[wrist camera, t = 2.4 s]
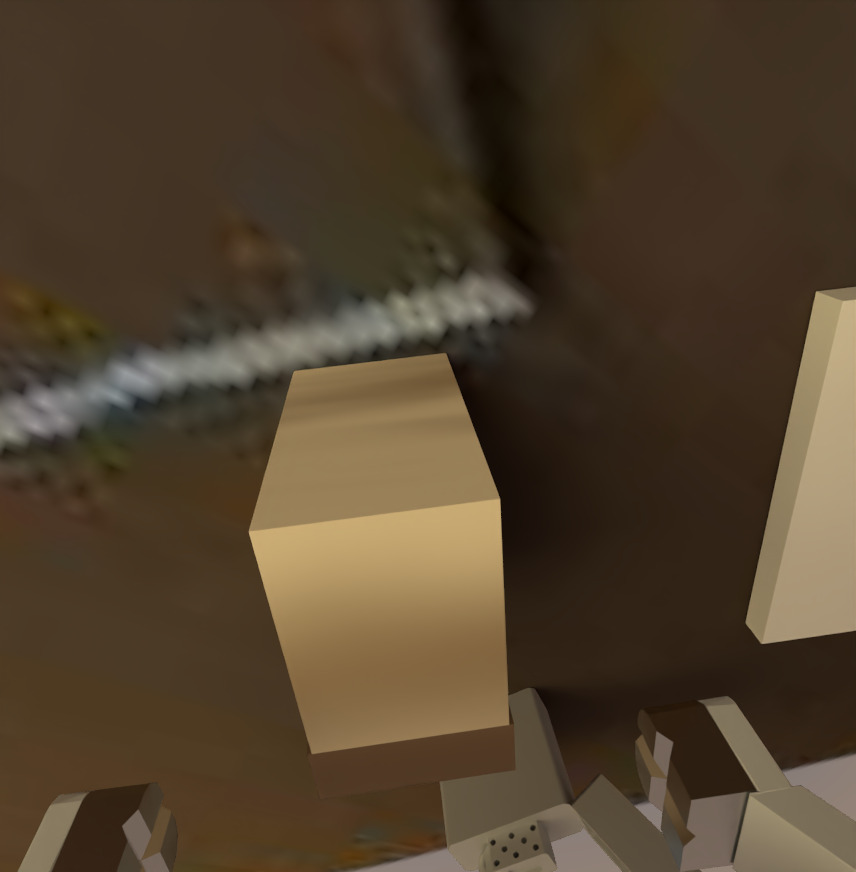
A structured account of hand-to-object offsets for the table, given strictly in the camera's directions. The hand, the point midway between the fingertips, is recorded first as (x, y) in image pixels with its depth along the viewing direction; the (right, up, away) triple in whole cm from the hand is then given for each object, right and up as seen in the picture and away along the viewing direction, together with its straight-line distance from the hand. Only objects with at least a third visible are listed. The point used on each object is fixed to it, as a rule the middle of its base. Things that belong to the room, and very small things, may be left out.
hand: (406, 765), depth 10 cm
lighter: (+4, -4, +12) cm, 14 cm away
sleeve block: (-1, +4, +7) cm, 8 cm away
